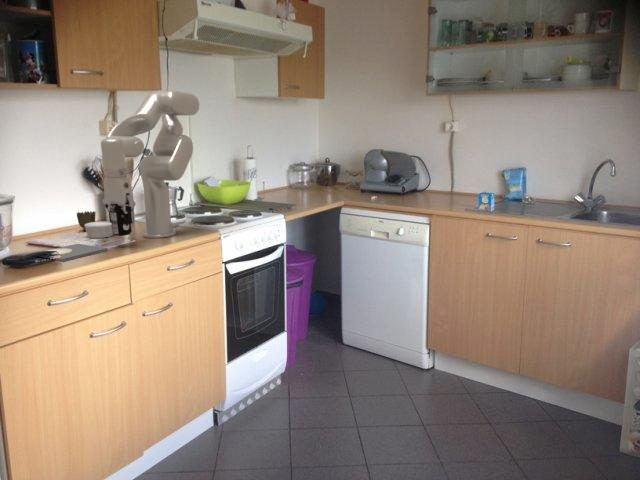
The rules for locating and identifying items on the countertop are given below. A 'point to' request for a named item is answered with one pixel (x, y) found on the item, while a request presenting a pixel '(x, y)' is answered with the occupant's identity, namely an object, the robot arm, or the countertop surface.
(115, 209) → the beverage can
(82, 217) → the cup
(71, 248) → the board
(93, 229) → the ramekin
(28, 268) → the countertop surface
